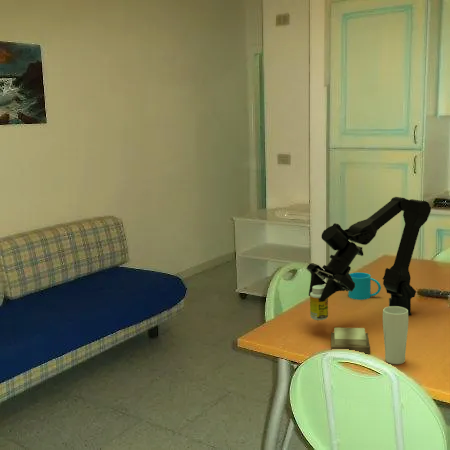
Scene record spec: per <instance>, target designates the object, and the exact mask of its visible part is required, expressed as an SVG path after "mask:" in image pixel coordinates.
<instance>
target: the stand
mask: <svg viewBox="0 0 450 450" xmlns="http://www.w3.org/2000/svg"><path fill="white" fill-rule="evenodd" d="M330 338H331V339H330V342H331V343H330V348H331V349H349V350H355V351H359V352H364V353H368V354H367V355H371V346H370V345H371V344H370V338H369V333H368V332H366V329H365V328H364V327H334V331H332V332H330Z"/></svg>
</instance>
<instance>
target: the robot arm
mask: <svg viewBox="0 0 450 450" xmlns="http://www.w3.org/2000/svg"><path fill="white" fill-rule="evenodd" d="M431 211H432V208H431V205H430V203H429V201H426V200H419V199H414V198H413V199H407V198H405V197H401V196H400V197H399V196H394V197H392V198H391V199H390V201H389V202H387V203H386V204H384V205H383V206H382V207H381V208H380V209H378V210H377V211H376V212H374V213H373V214H372V215H370V216H369V217H367V218H366V219H363V220H360V221H357V222H355V223H353V224H351V225H350V226H349V227H348V228H346V229H343V228H342V226H341V225H340V224H339V223H336V222H335V223H333V224H332V225H331V226H328V227H326V228H325V229H324V230H323V232H321V240H323V242H325V244H327V246H329V248H331V249H332V250H333V251H336V252H335V254H330V255H329V258H330V261H329V262H328V263H327V265H325V264H324V265H323V266H321V265H320V264H318V263H312V262H311V263H309V264H308V266H307V267H306V270H307V271H308V272H309V274H310V284H309V290H308V296H309V297H310V293H311V292H312V287H313V286H315V285H322V286H325V288H324V290H323V292H322V294H321V297H320V301H321V302H323V301H324V300H326V299H327V298H328V299H329V298H330V297H331V296H332V295H334V294H335V293H337V292H345V291H346V292H348V291H351V292H352V291H353V289H354V288H355V283H354V282H353V280H352V278H351V276H350V274H351V273H350V272H351V271H352V270H351V269H352V268H351V266H350V265H351V263H352V262H353V261H354V259H355V258H356V256H357V255H358V256H361V257H363V256H364V251H363V247H362V246H358V245H357V244H359V245H364V246H366V245H368V244H369V243H371V242H372V240H373V239H374V238H375V237H376V235H377V234H378V233H377V232H378V231H379V230H380V229H381V228H382V227H383V226H385V225H386V224H387V223H388V222H390V221H391V220H392V219H393V218H395V217H396V216H397V215H398V214H400V213H401V212H403V213H402V217H403V220H404V227H403V231H402V234H401V238H400V241H399V244H398V247H397V248H398V249H397V252H396V255H395V259H394V263H393V265H392V266H391V267H390V268H388V267H386V268H385V270H384V276H383V277H382V282H383V283H382V285H383V286H384V289H385V292H386V293H387V294H390V297H389V298H388V307H389V306H399V307H403V308H406V309H407V310H408V316H412V311H411V309H412V307H411V306H412V304H411V303H412V301H411V300H412V298H414V297H415V296H416V293H417V291H416V290H415V288H414V287H413V286H412V285H411V273H410V270H409V269H410V264H411V262H412V261H411V260H412V258H413V254H414V250H415V246H416V244H417V240H418V237H419V233H420V229H421V227H423V225H424V224H425V223H426V222H427V221H428V219H429V216H430V214H431ZM326 279H327V280H326ZM325 280H326V281H325Z"/></svg>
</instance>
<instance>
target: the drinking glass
mask: <svg viewBox="0 0 450 450" xmlns="http://www.w3.org/2000/svg"><path fill="white" fill-rule="evenodd" d="M382 329H383V333H382V334H383V341H384V342H383V344H384V356H385V357H384V358H385V361H386V362H387V363H388V364H391V365H401V364H404V363H405V361H406V351H407V350H406V349H407V339H408V330H409V315H408V310H407V309H406V308H403V307H399V306H389V305H388V306H385V307H384V308H383V310H382Z"/></svg>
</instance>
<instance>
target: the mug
mask: <svg viewBox="0 0 450 450" xmlns="http://www.w3.org/2000/svg"><path fill="white" fill-rule="evenodd" d="M349 274H350V276H351V278H352V280H353V282H354V283H355V288H354V289H353V291H352V292H351V291H347V293H348V294H347V295H348V297H349V298H350V299H351V300H352V299H353V300H358V301H359V300H360V301H362V300H363V301H364V300H369V299H370V298H371V297H375V296H377V295H378V294H379V293H380V292H381V290H382V289H381V288H382V286H381V283H380V282H379V281H378V280H377V279H375V278H373V277H372V275H371V273H367V272H360V271H359V272H358V271H357V272H351V273H349ZM372 282H374V283H375V284H376V285H377V287H378V288H377V291H376V292H374V293H371V292H372V291H371V290H372V288H371V287H372V285H371V283H372Z"/></svg>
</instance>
